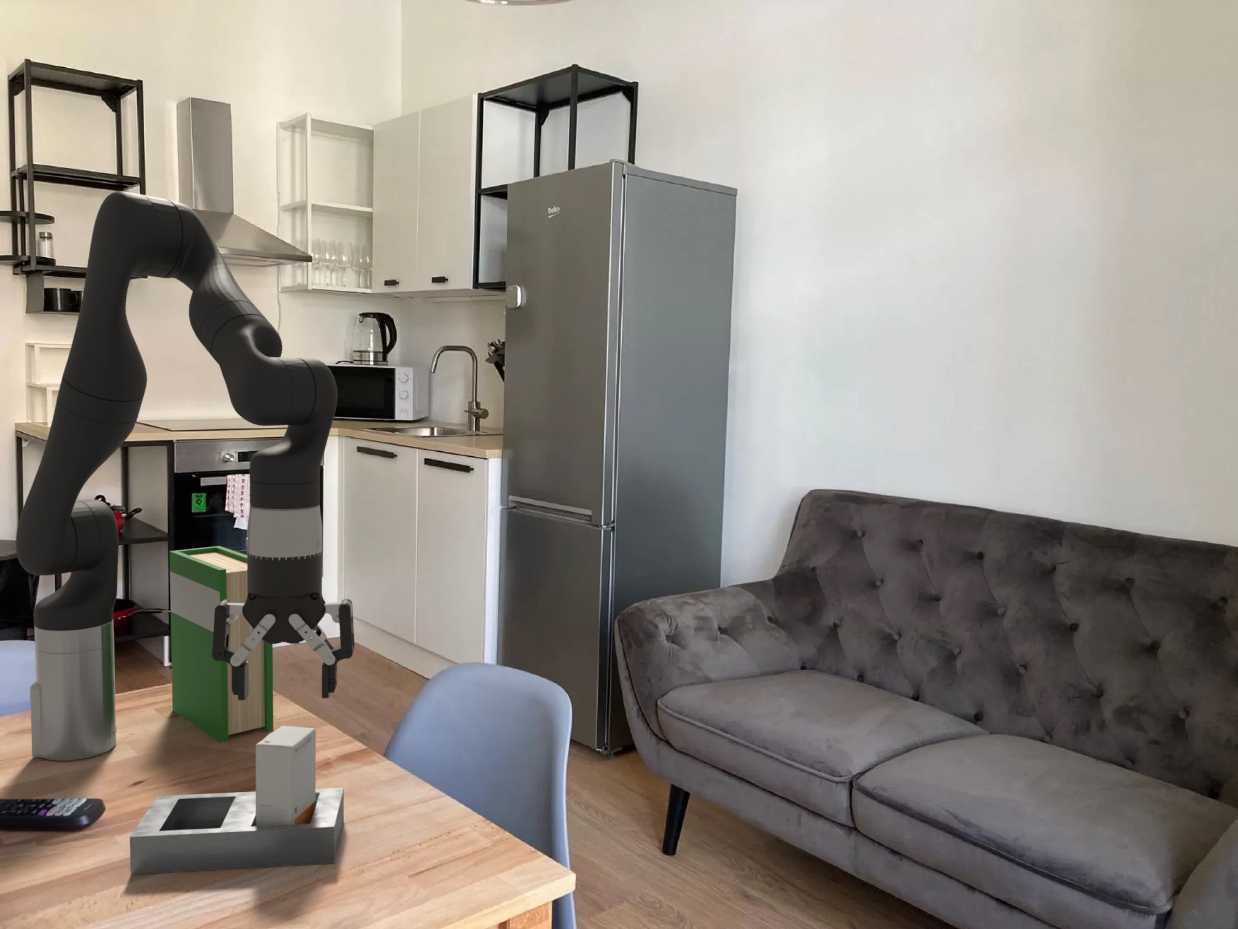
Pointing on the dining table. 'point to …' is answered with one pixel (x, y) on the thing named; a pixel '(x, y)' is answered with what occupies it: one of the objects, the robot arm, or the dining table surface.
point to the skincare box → (286, 777)
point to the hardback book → (194, 671)
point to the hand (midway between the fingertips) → (284, 697)
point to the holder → (231, 834)
